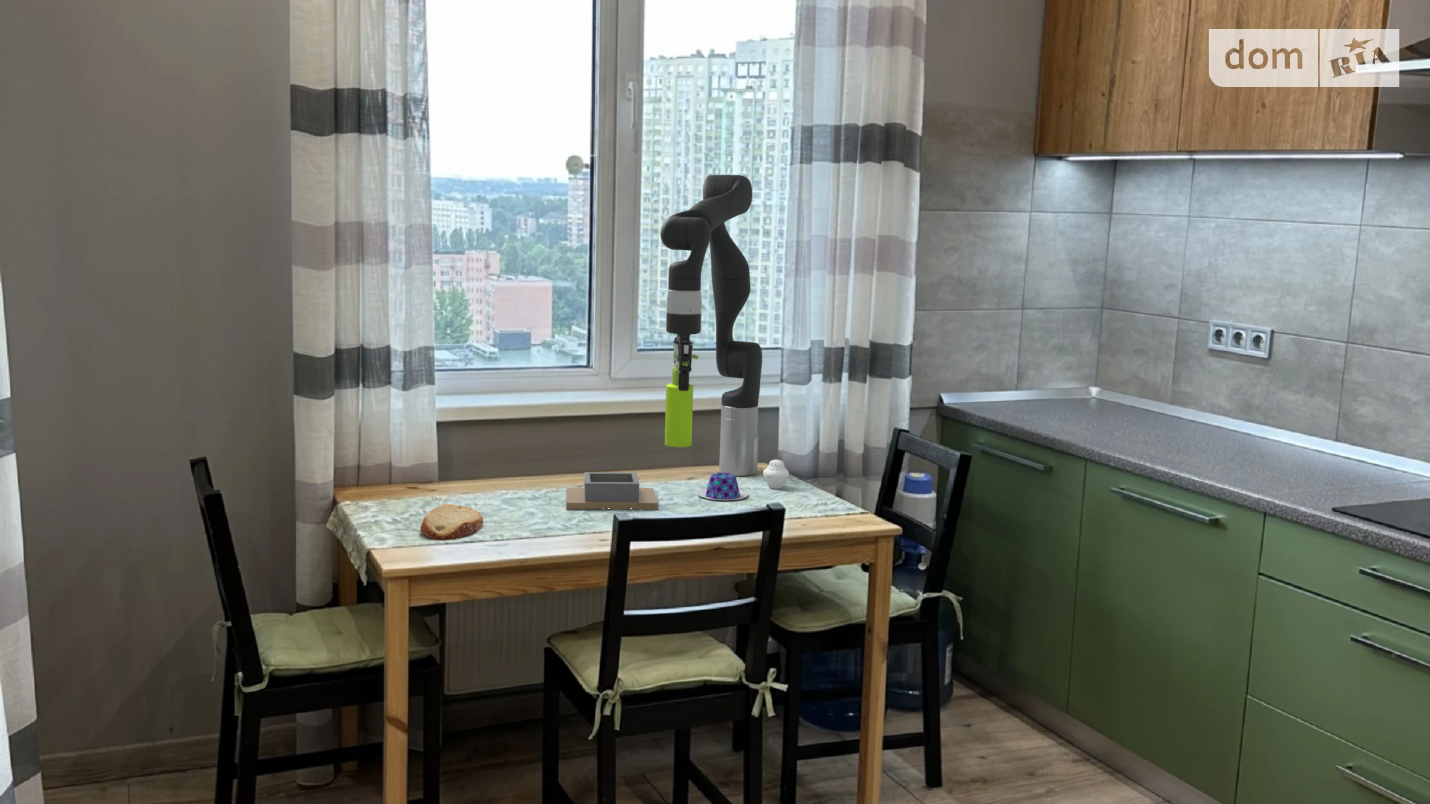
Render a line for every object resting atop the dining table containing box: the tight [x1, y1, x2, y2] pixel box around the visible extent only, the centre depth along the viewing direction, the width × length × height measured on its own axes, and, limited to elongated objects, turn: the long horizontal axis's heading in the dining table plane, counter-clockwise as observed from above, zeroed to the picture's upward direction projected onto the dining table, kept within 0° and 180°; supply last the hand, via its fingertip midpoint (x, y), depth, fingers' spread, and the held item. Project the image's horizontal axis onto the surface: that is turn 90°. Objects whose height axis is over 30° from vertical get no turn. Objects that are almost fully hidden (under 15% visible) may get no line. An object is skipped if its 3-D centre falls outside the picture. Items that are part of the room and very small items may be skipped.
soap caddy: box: [565, 471, 659, 510], centre depth 277 cm, size 20×14×6 cm
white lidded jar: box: [762, 458, 790, 490], centre depth 296 cm, size 6×6×7 cm
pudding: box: [696, 472, 749, 501], centre depth 287 cm, size 12×12×5 cm
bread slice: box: [420, 503, 484, 541], centre depth 254 cm, size 18×18×4 cm
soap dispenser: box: [664, 353, 700, 448], centre depth 268 cm, size 6×7×20 cm
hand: (681, 387), depth 268 cm, fingers closed on soap dispenser, 6 cm apart
